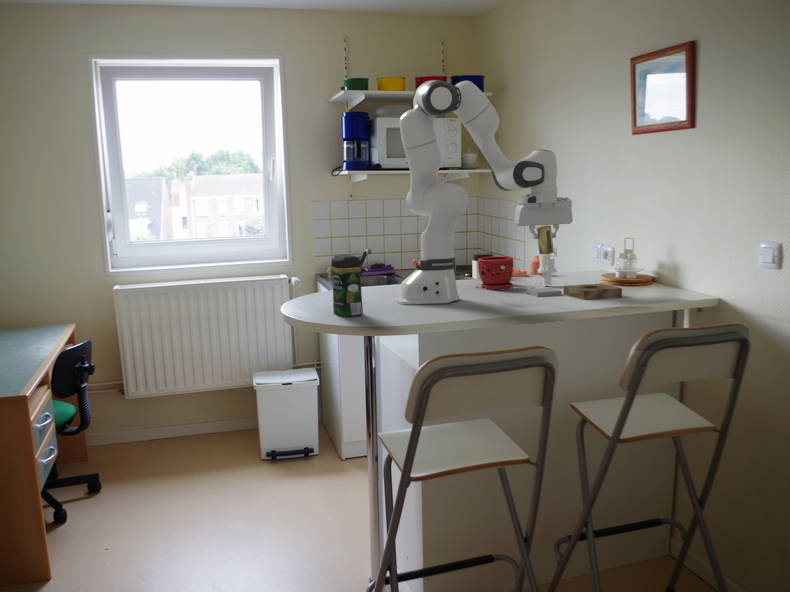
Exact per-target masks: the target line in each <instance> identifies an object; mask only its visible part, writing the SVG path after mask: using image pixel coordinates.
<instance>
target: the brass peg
mask: <svg viewBox="0 0 790 592" xmlns="http://www.w3.org/2000/svg"><path fill="white" fill-rule="evenodd" d="M535 229H536V231H535V232H536V233H537V234H538V239H537V246H538V250H539V254H540V255H544V254H550V253H552V254H553V252H554V248H553V247H554V241H553V238H552V231H553V230H552V225H539V226H537V227H535ZM550 255H551V254H550Z"/></svg>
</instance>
